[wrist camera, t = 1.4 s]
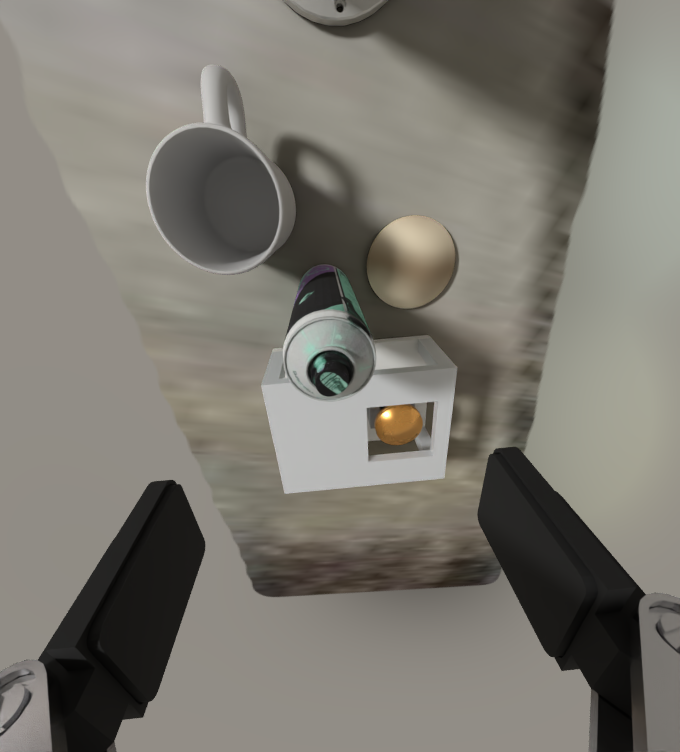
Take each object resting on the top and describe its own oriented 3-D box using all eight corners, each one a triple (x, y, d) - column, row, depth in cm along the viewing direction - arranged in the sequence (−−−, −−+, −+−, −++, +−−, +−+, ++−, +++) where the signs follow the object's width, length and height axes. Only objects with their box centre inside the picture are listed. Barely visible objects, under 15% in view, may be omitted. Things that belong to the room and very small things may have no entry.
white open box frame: (273, 348, 36) (261, 385, 28) (428, 334, 36) (457, 367, 29) (290, 443, 43) (284, 493, 35) (422, 431, 43) (444, 478, 35)
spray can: (306, 256, 32) (290, 317, 14) (357, 273, 33) (403, 348, 15) (293, 308, 34) (265, 415, 16) (341, 322, 35) (364, 436, 17)
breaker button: (369, 389, 35) (375, 409, 32) (413, 385, 35) (424, 404, 32) (370, 425, 38) (375, 447, 34) (412, 421, 38) (421, 442, 34)
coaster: (365, 219, 30) (365, 219, 30) (457, 211, 30) (459, 211, 30) (367, 310, 34) (368, 312, 34) (448, 303, 35) (450, 304, 34)
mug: (297, 257, 32) (287, 278, 22) (210, 254, 31) (160, 274, 21) (294, 103, 26) (279, 40, 16) (187, 95, 25) (106, 25, 16)
